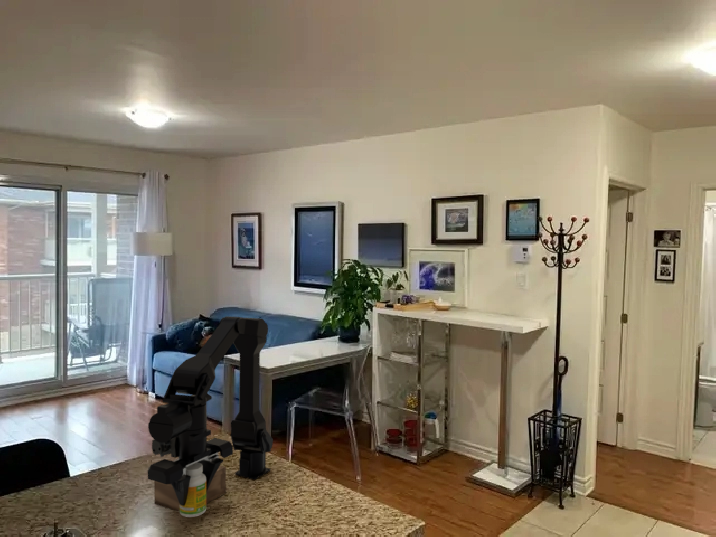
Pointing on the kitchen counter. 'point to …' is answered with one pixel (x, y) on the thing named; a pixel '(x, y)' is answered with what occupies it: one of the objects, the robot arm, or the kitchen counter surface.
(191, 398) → the robot arm
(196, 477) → the supplement bottle
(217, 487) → the box
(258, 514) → the kitchen counter surface
